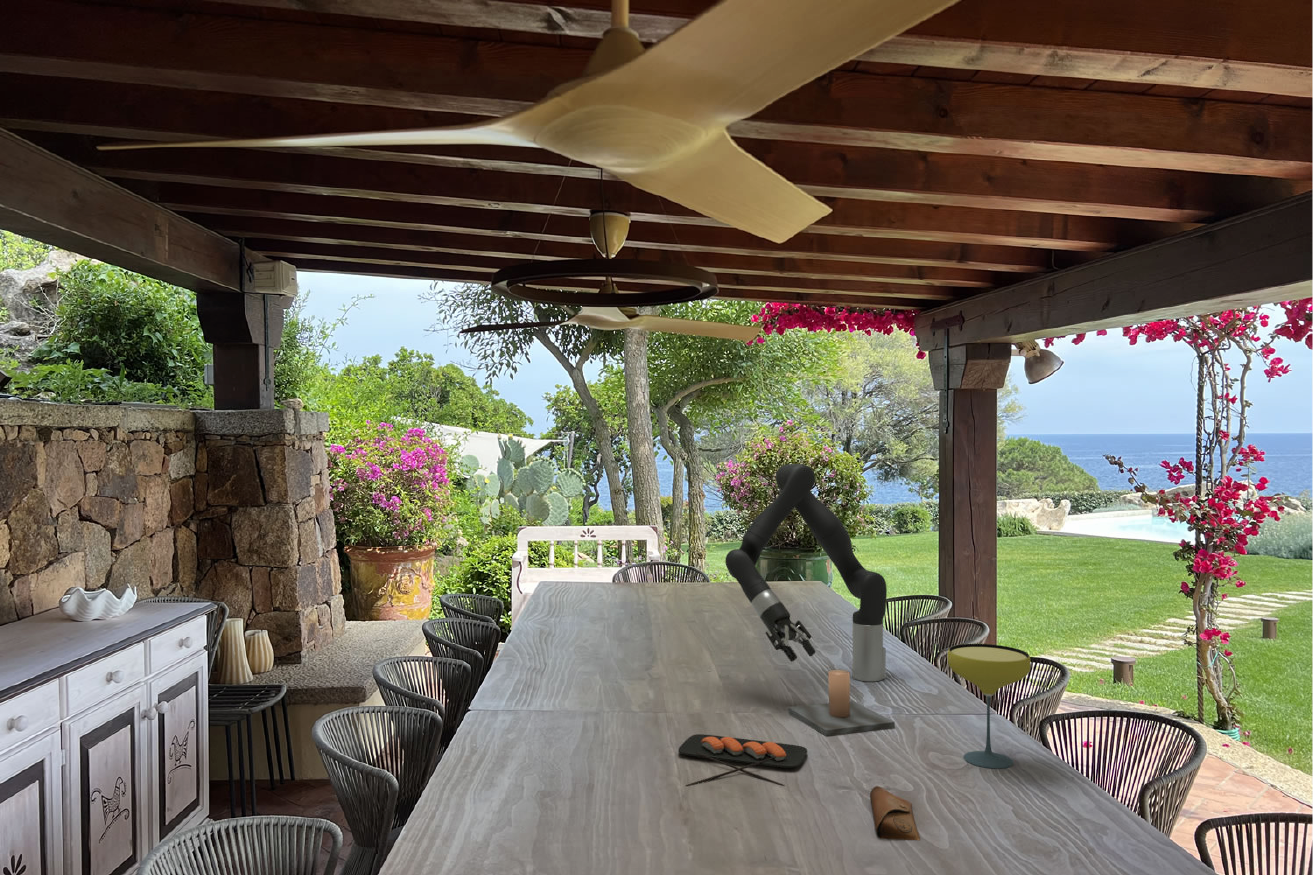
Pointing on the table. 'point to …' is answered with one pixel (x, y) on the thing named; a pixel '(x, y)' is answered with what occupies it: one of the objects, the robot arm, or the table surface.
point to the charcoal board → (841, 719)
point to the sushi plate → (743, 753)
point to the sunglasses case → (892, 816)
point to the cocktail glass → (989, 684)
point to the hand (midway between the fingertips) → (804, 657)
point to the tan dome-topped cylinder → (839, 693)
